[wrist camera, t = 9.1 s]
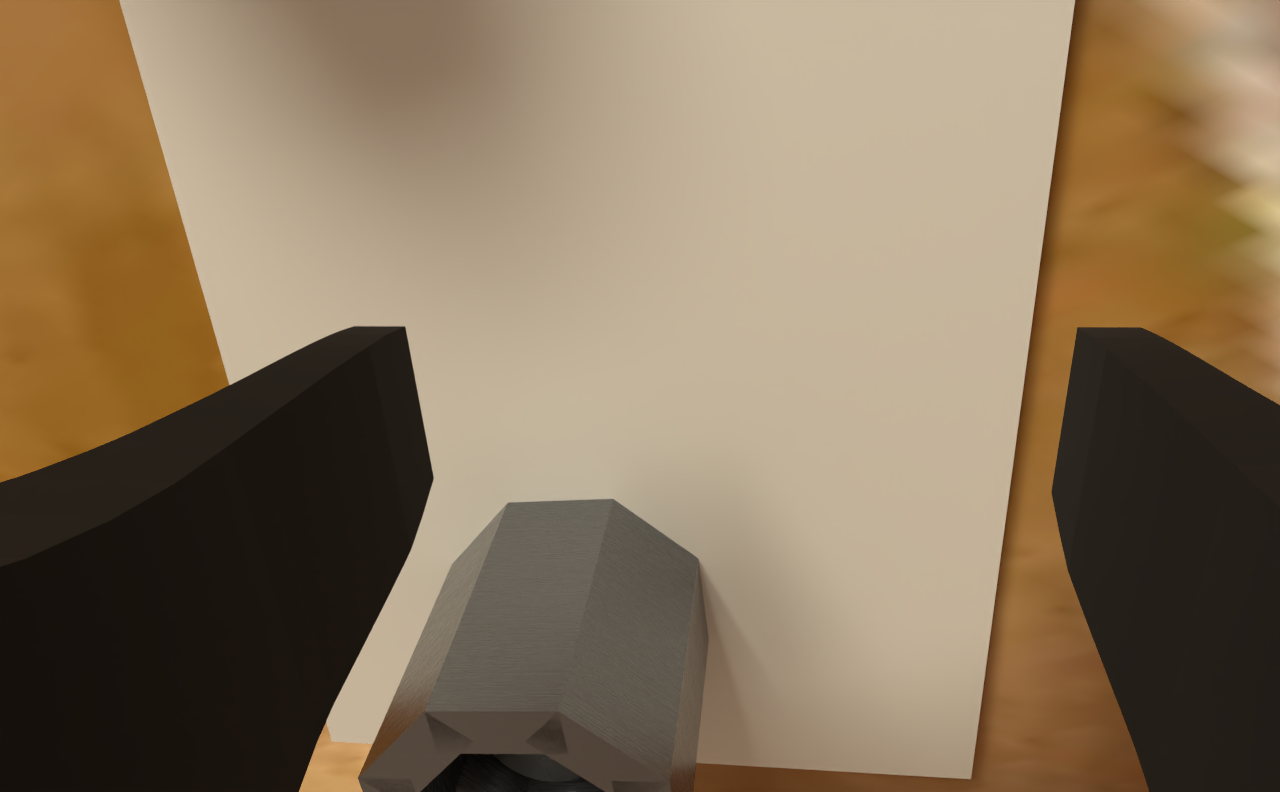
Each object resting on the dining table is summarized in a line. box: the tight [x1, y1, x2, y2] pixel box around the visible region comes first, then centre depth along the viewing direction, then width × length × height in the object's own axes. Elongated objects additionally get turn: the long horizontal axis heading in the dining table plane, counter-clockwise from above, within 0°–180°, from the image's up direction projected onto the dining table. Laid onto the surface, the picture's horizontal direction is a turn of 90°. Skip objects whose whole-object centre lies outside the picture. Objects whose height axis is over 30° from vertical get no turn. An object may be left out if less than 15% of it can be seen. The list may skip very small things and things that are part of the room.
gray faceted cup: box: [358, 499, 709, 792], centre depth 22 cm, size 6×6×6 cm
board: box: [119, 0, 1075, 779], centre depth 22 cm, size 16×22×1 cm
